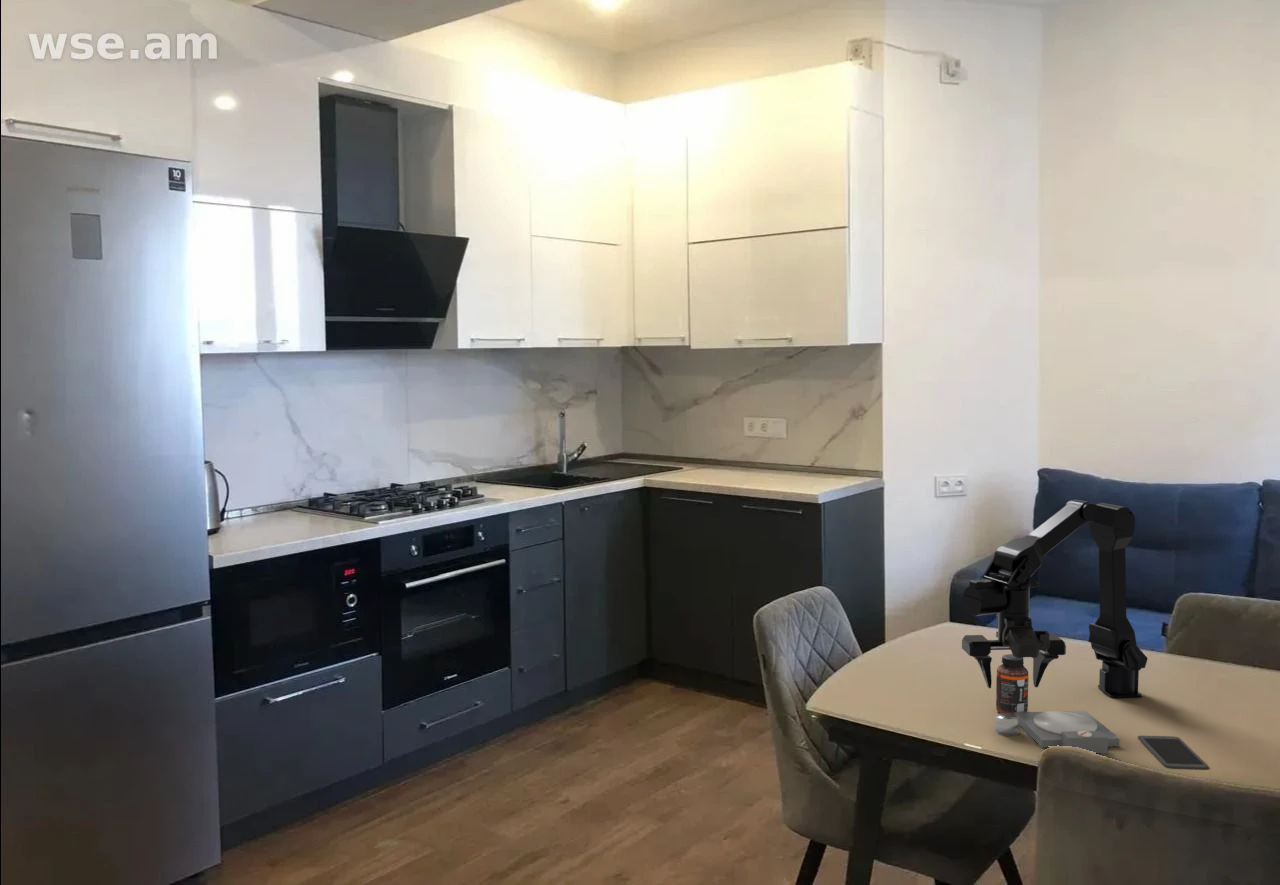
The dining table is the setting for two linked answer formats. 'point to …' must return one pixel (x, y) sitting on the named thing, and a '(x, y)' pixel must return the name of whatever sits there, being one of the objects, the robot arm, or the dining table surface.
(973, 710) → the dining table surface
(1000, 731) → the shiny metal cylinder
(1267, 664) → the dining table surface
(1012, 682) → the supplement bottle
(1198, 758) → the cell phone
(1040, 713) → the scale
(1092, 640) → the robot arm
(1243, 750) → the dining table surface
